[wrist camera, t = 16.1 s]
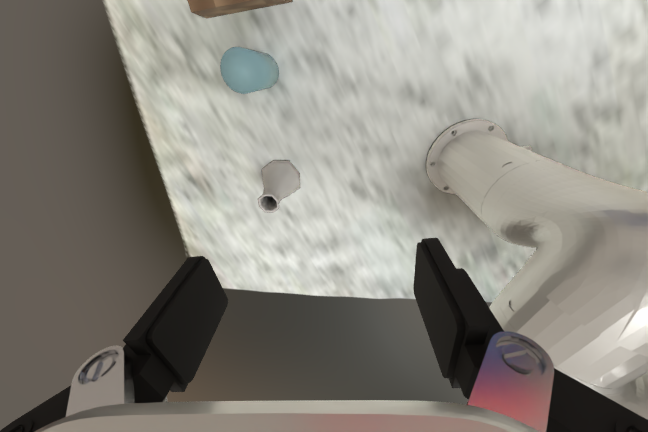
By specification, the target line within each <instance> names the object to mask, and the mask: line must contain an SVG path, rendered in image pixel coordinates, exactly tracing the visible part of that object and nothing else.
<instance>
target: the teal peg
mask: <svg viewBox="0 0 648 432" xmlns="http://www.w3.org/2000/svg"><path fill="white" fill-rule="evenodd" d="M220 66H221V74H222V77H223V79H224V81H225V82H226V84H227V85H228V86H229V87H230V88H231V89H232V90H234V91H236V92H238V93H242V94H246V93H250V92H254V91H258V90H262V89H266V88H270V87H272V86H273V85H274V84H275V83H276V82H277V79H278V75H279V70H278V66H277V63H276V62H275V60H274V59H273V58H272V57H271V56H270V55H268V54H266V53H262V52H258V51H253V50H249V49H245V48H241V47H233V48H230V49H229V50H227V51H226V52H225V53H224V55H223V57H222V59H221V65H220Z"/></svg>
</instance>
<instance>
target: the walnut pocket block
mask: <svg viewBox="0 0 648 432" xmlns="http://www.w3.org/2000/svg"><path fill="white" fill-rule="evenodd" d="M289 2H293V1H292V0H188V3H189V6H190V9H191V12H192V13H195V14H197V15H200V16H202V17H205V18H210V17H215V16H221V15H226V14H231V13H236V12H242V11H247V10H252V9H257V8H263V7H268V6H273V5H278V4H284V3H289Z"/></svg>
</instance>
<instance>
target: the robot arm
mask: <svg viewBox="0 0 648 432" xmlns="http://www.w3.org/2000/svg"><path fill="white" fill-rule="evenodd" d="M452 131H453V133H451V132H452ZM431 162H432V163H431ZM430 163H431V164H430ZM426 170H427V174H428V177H429V179H430V180H431V182H432V183H433V184H434V186H436V187H437V188H438V189H439V190H441V191H443V192H446V193H449V194H457V196H458V197H459V198H460V199H461V200H462V201H463V202H464V203H465V204H466V205H467V206H468V207H469V208H470V209H471V210H472V211H473V212H474V213H475V214H476V215H477V216H478V217H479V218H480V219H481V220H482V221H483V222H484V223H485V225H487V226H488V227H489V228H490V230H491V231H492V232H494V233H495V234H496V235H497V236H498V237H500V238H502V239H503V240H505V241H508V242H510V243H513V244H516V245H521V246H527V247H537V249H536V251H535V252H534V253H533V254H532V256H531V257H530V258H529V259H528V260H527V262H526V263H525V265H524V266H523V267H522V269H521V270H520V271H519V272H518V273H517V274H516V275H515V276H514V278H513V279H512V280H511V281H510V282H509V283H508V284H507V286H506V287H505V288H504V289H503V290H502V291H501V292H500V294H499V295H498V296H497V297H496V298H495V300H494V301H493V303H492V304H491V306H490V307H488V306H487V304H486V302H485V301H484V299H483V298H482V296H481V294H480V293H479V291H478V290H477V288H476V287H475V285H474V284H473V282H472V280H471V279H470V277H469V276H468V274H467V273H466V271H465V270H464V269H462V268H461V269H456V268H455V266H454V264H453V263H452V261H451V259H450V258H449V256H448V254H447V253H446V251H445V249H444V248H443V246H442V244H441V243H440V241H439V240H438V238H428V239H422V241H421V243H417V252H416V264H415V277H414V294H415V298H416V300H417V303H418V306H419V309H420V312H421V315H422V318H423V321H424V323H425V326H426V329H427V332H428V335H429V338H430V341H431V344H432V347H433V349H434V352H435V355H436V358H437V361H438V364H439V367H440V369H441V372H442V375H443V377H444V378H449V380H450V383H451V386H452V388H461V389H462V392H463V395H464V396H465V397H466V398H467V399H468V402H467V405H464V404H458V403H449V402H433V401H391V400H390V401H389V400H388V401H387V400H355V401H354V400H348V401H347V400H341V401H340V400H339V401H338V400H336V401H335V400H333V401H332V400H331V401H217V402H167V394H168V392H169V390H170V391H172V392H184V391H185V389H186V387H187V385H188V383H189V382H191V381H192V380H193V378H194V376H195V374H196V371H197V370H198V367H199V365H200V363H201V361H202V359H203V357H204V355H205V352H206V350H207V348H208V346H209V344H210V342H211V339H212V337H213V335H214V333H215V331H216V329H217V327H218V324H219V322H220V320H221V318H222V316H223V314H224V312H225V309H226V307H227V304H228V299H227V296H226V294H225V292H224V290H223V288H222V286H221V284H220V282H219V280H218V278H217V276H216V274H215V272H214V270H213V268H212V266H211V264H210V262H209V260H208V259H205V257H203V256H197V257H189V258H188V259H187V260H186V261H185V262H184V264H183V265H182V266H181V268H180V269H179V270H178V271H177V273H176V274H175V275H174V277H173V278H172V279H171V280H170V281H169V283H168V284H167V285H166V287H165V288H164V289H163V290H162V292H161V293H160V294H159V295H158V297H157V298H156V299H155V301H154V302H153V303H152V304H151V305H150V307H149V308H148V309H147V310H146V312H145V313H144V314H143V316H142V317H141V318H140V319H139V321H138V322H137V323H136V324H135V326H134V327H133V328H132V329H131V331H130V332H129V333H128V335H127V336H126V337H125V338H124V340H123V341H124V342H125V343H126V345H125V346H124V348H122V347H120V346H111V347H107V348H105V349H103V350H101V351H99V352H97V353H96V354H94V355H93V356H92V357H90V358H89V359H88V360H87V361H85V363H84V364H83V365H82V366H81V367H80V368H79V369H78V371H77V372H76V374H75V375H74V378H73V380H72V384H71V386H69V387H68V388H66V389H65V390H63V391H61V392H60V393H58V394H56V395H55V396H53V397H52V398H50V399H48V400H47V401H45V402H44V403H42V404H40V405H39V406H37V407H36V408H34V409H32V410H31V411H29V412H28V413H26V414H24V415H23V416H21V417H20V418H18V419H16V420H15V421H13V422H12V423H10V424H9V425H8V426H6V427H5V428H3V429H2V430H1V431H0V432H648V192H646V191H642V190H638V189H634V188H630V187H626V186H623V185H620V184H616V183H613V182H609V181H606V180H603V179H600V178H597V177H594V176H591V175H589V174H586V173H583V172H581V171H578V170H576V169H573V168H571V167H568V166H566V165H563V164H561V163H559V162H556V161H554V160H551V159H549V158H546V157H544V156H542V155H539V154H537V153H534V152H532V147H531V146H518V145H515V144H513V143H510V142H508V139H507V136H506V134H505V132H504V131H503V130H502V128H500V127H499V126H498V125H496V124H494V123H492V122H490V121H486V120H482V119H472V120H466V121H463V122H460V123H457V124H455V125H453V126H451V127H450V128H449V129H447V130H446V131H444V132H443V133H442V134H441V135H440V136H439V137H438V138H437V140H436V141H435V142H434V143H433V145H432V147H431V149H430V151H429V153H428V156H427V162H426Z"/></svg>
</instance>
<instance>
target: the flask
mask: <svg viewBox="0 0 648 432" xmlns="http://www.w3.org/2000/svg"><path fill="white" fill-rule="evenodd" d="M262 177H263V184H264V192H263V195H262V196H261V197H259V198H258V203H259V207H260V208H261V209H262V210H263V211H264V212H269V213H273V212H275V211H276V210H278V209H279V202H280V201H281V200H282V199H283V198H285V197H287V196H289V195H290V194H292V193H293V192H295V191H296V190H298V189H299V188H300V173H299V172H298V171H297V170H296V168H295V167H294V166H293V165H292V163H291V162H290V161H278V160H273V161H272V162H270V163H269V164H268V165H267V166H265V167H264V168H263V169H262Z"/></svg>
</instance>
